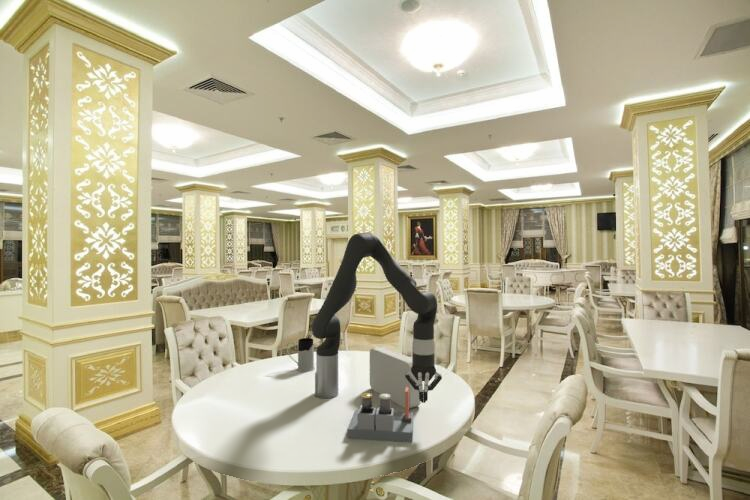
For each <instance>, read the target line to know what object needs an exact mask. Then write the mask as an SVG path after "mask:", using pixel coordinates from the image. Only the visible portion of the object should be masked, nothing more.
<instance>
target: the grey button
mask: <svg viewBox="0 0 750 500" xmlns="http://www.w3.org/2000/svg"><path fill="white" fill-rule="evenodd" d="M390 398H391V396H390V395H389V394H379V408H380V412H381V413H389V412H390V408H391V400H390Z"/></svg>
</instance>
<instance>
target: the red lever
mask: <svg viewBox="0 0 750 500" xmlns="http://www.w3.org/2000/svg"><path fill="white" fill-rule="evenodd" d="M404 410H405V411H404V412H405V414H404V413H403V418H402V421H411V419H412V414H409V412H410V411H409V410H410V408H409V387H406V390H405V408H404Z"/></svg>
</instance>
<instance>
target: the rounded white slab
mask: <svg viewBox="0 0 750 500" xmlns="http://www.w3.org/2000/svg"><path fill="white" fill-rule="evenodd" d="M411 368H412V357H410V356H407V355H405V354H402V353H400V352H397V351H394V350H391V349H388V348H386V347H383V346H382V347H376V348H375V347H374V348H371V349H370V351H369V386H370V388H371V389H372V391H374V392H376V393H378V395H381V394H389V395H390V396H391V398H390V401H392V402H394V403H395V402H396V403H395V404H397V403H398V404H397V405H399V406H401V407H402V408H404V409H405V390H406V387H409V409H414V408H417V407H419V406H420V405H421V401H420V400H419V391H418V390H415V389H414V388H413V387H412V385H411V384H410V383H409V381H408V380H407V379H406V378H405V374H406V373H408V372H410V371H411ZM412 376H413V377H412V378H413V380H414V381H415V382H416V384H417V385H419V381H418V380H417V379H416V378H415V377H414V375H413V374H412Z"/></svg>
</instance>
